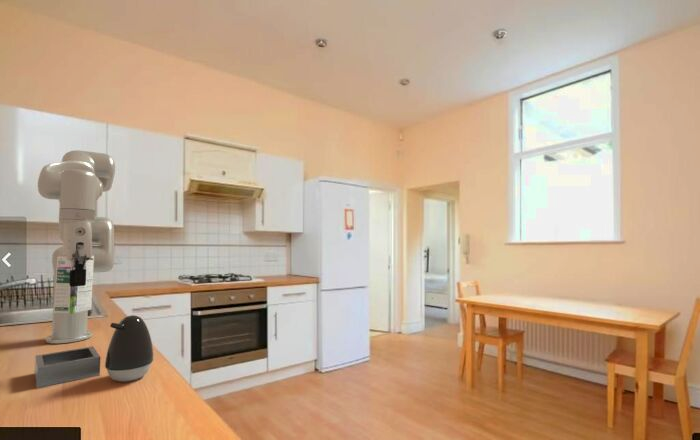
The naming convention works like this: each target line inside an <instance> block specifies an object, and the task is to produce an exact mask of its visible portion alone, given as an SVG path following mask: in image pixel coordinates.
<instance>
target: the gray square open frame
mask: <svg viewBox="0 0 700 440" xmlns="http://www.w3.org/2000/svg"><path fill="white" fill-rule="evenodd" d="M100 375H101V356H100V354H99V353H98V351H97V350H96V348H95V347H94V346H88V347H81V348H80V347H79V348H75V349H74V348H73V349H70V350H69V349H68V350H62V351H57V352H49V353H42V354H37V355H35V362H34V378H35V386H36V389H38V388H43V387H44V388H45V387H48V386H49V387H50V386H53V385H58V384H63V383H68V382H73V381H78V380H82V379H88V378H92V377H96V376H97V377H99V376H100Z"/></svg>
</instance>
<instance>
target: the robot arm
mask: <svg viewBox="0 0 700 440" xmlns="http://www.w3.org/2000/svg"><path fill="white" fill-rule="evenodd" d="M115 175H116V163H115V161H114V159H113V157H112V156H111V155H109V154H108V153H104V152H103V153H101V152H93V151H86V150H76V149H75V150H71V151H68V152H65V154H64V155H63V156H62V159H61V161H59V162H52V163H48V164H45V165H44V166H43V167H42V169H41V171H40V172H39V175H38V180H37V190H38V191H37V192H38V193H39V194H40V196H41V197H42V198H44V199H48V200H58V203H59V206H58V207H59V210H58V211H59V212H58V223H59V228H58V233H59V238H60V239H61V241H62V247H61V246H60V247H58V248H56V249H55V250H54V251H53V252H52V256H51V261H52V262H51V264H52V271H53V302H52V303H53V304H52V305H53V306H52V320H51V321H52V322H51V323H52V328H51V335H48V336H47V337H45V340H44V341H45V343H46V344H52V345H53V344H56V345H57V344H58V345H59V344H69V343H76V342H80V341H83V340H88V339H90V338H91V337H92V336H93V332H92V331H91V330H88V316H89V315H88V314H89V310H88V311H84V312H79V313H75V314H64V313H54V304H55V287H56V269H57V257H58V256H66V257H67V260H69V261H71V266H72V270H70V286H71V287H73V286H85V285H86V261H85V258H89V259H87V260H90V259H91V258H92V256H94V264H93V274H95V273H98V274H99V273H106V272H110V271H111V270H113V268H114V265H115V227H114V222H113V221H112V220H111V219H110V218H108V217H104V216H101V217H100V216H96V201H97V200H99V199H100V198H101V197H102V196H103V192H104V193H106V192H109V191H110V190H111V188H112V186H113V183H114V178H115ZM93 244H97V245H93ZM74 256H78V258H74ZM85 256H86V257H85Z"/></svg>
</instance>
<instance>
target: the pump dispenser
mask: <svg viewBox="0 0 700 440" xmlns="http://www.w3.org/2000/svg"><path fill="white" fill-rule="evenodd" d="M110 328H113V329H115V330H114V331H113V334H112V336H111V338H110V342H109V344H108V347H107V352H106V356H105V362H104V363H105V364H104V367H105V369H106V371H107V374H108V376H109V377H110V378H111V379H112V380H113V381H116V382H120V383H121V382H123V383H125V382H126V383H127V382H132V381H136V380H139V379H140V378H142V377H144V376H145V375H147V373H148V372H149V371H150V368H151V367H152V363H153V362H154V356H155V355H154V348H153V341H152V337H151V334H150V330H149V329H148V327H147V324H146V322H145V321H144V319H143V318H142V317H141V316H138V315H127V316H126V317H124V318H122V319H121V320H120V321H119V323H118V322H117V323H116V322H111V323H110Z"/></svg>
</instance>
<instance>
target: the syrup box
mask: <svg viewBox="0 0 700 440" xmlns="http://www.w3.org/2000/svg"><path fill="white" fill-rule="evenodd" d="M85 257H86V256H85ZM74 258H78V256H74ZM87 259H89V258H85V261H86V285H85V286H73V287H71V286H70V270H72V266H71V261H69V260H67V257H66V256H58V257H57V269H56V287H55V304H54V313H64V314H75V313H79V312H84V311H88V312H89V311H91V310H92V304H93V303H92V298H93V285H94V284H93V281H94V273H93V264H94V256H92V258H91V259H90V260H87Z"/></svg>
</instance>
